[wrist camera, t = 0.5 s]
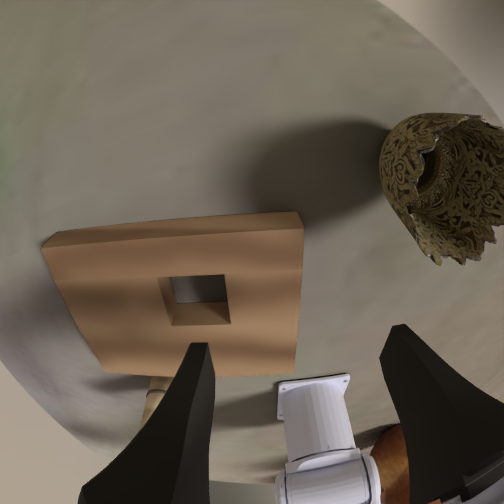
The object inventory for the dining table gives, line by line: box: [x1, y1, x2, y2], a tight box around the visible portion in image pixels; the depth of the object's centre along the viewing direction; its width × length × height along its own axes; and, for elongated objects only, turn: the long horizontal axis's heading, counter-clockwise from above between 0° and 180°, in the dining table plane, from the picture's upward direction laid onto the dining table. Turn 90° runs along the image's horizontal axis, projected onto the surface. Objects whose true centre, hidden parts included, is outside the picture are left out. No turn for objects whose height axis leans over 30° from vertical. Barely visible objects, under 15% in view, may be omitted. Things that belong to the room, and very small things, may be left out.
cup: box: [379, 113, 504, 266], centre depth 13 cm, size 8×7×8 cm
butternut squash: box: [370, 424, 441, 504], centre depth 31 cm, size 14×13×25 cm
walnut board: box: [41, 211, 304, 377], centre depth 21 cm, size 14×18×2 cm
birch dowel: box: [140, 376, 174, 430], centre depth 23 cm, size 3×3×10 cm
